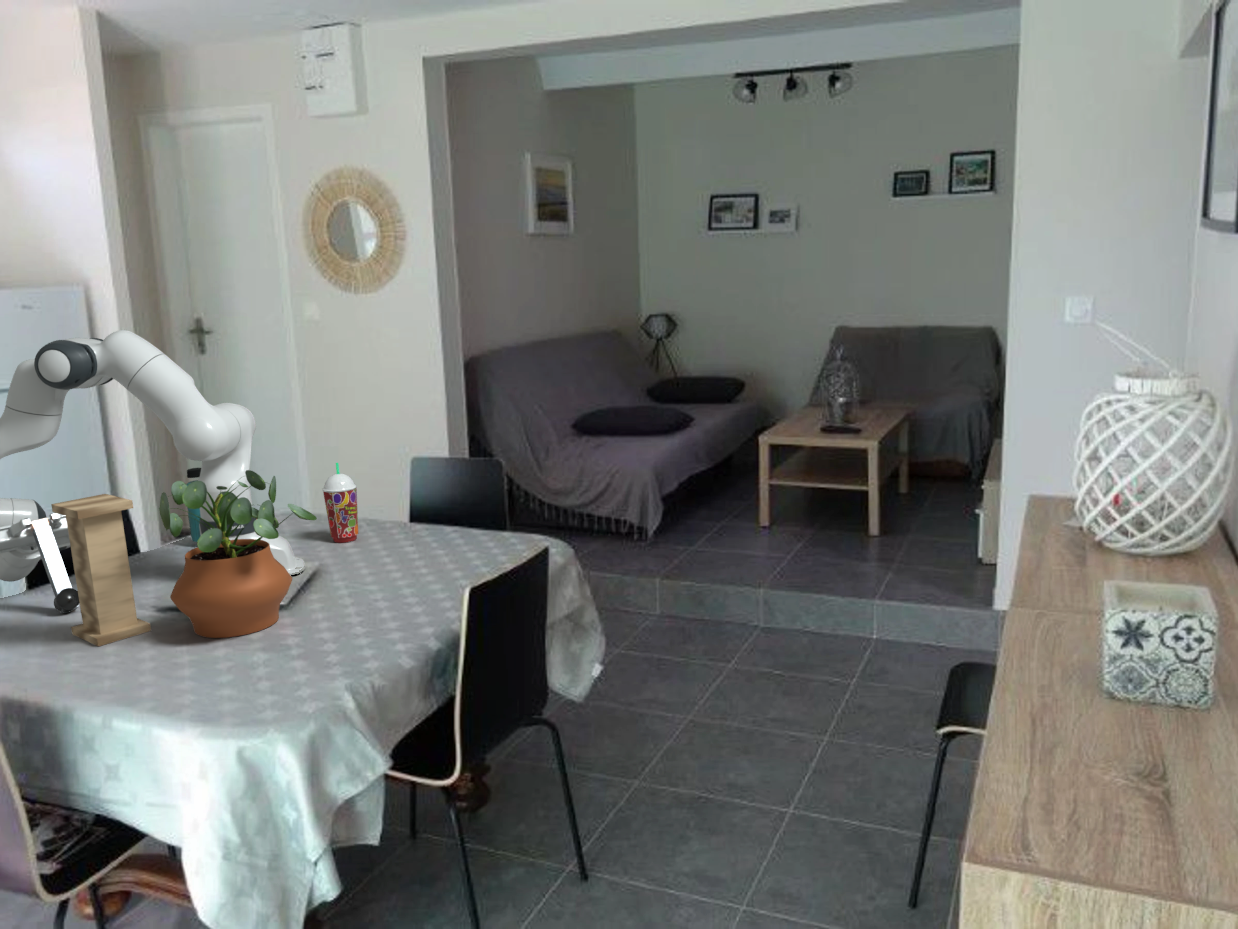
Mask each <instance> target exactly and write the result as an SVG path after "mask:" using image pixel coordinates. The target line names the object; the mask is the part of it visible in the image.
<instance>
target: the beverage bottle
mask: <svg viewBox="0 0 1238 929" xmlns="http://www.w3.org/2000/svg"><path fill="white" fill-rule="evenodd" d="M200 473H201V467H193V468H188V469H186V477H187V478H189V479H196V478H197V479H198V478H199V477H200ZM197 479H196V480H191V481H188V482H187V483H185V484H186V485H187V484H190V483H192V482H195V481H198V480H197ZM187 486H188V485H187ZM186 508H187V512H186V513H187V519H188V520H187V521H188V526H189V529H188V530H189V533H190V539H191V541H192V542H196V543H197V542H198V539H199V538H200V536H201V535H200V528H199V524H200V523H199V522H198V521H200V518H201V515H200V508H199V509H190V508H188V507H186ZM188 512H190V513H188ZM191 513H192V514H191ZM193 514H194V515H193ZM195 515H196V516H195ZM189 516H190V517H189ZM197 516H198V517H200V518H198V517H197ZM191 517H192V518H191ZM193 518H194V519H193ZM195 519H196V520H195ZM197 520H198V521H197Z"/></svg>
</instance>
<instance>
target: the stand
mask: <svg viewBox="0 0 1238 929" xmlns="http://www.w3.org/2000/svg"><path fill="white" fill-rule="evenodd" d="M131 509H134V504H133V500H132V499H128V498H124V497H120V496H116V495H112V494H107V493H102V494H96V495H91V496H86V497H81V498H76V499H70V500H65V501H61V502H56V503H51V510H52V511H51V512H52V513H58V514H59V515H65V516H66V521H67V527H68V533H69V540H70V550H71V552H70V553H71V557H72V563H73V564H72V565H73V570H74V571H73V572H74V576H75V582H76V590H77V591H78V596H79V607H80V614H81V621H82V623H80V624H77V625H74V626H70V629H71V634H72V635H73V636H76V637H78V638H79V639H81V640H83V641H86V642H87V643H89V644H92V645H94V646H96V647H98V648H99V647H101V646H105V645H108V644H111V643H115V642H118V641H122V640H124V639H128V638H129V639H130V638H132V637H135V636H138V635H143V634H145V633H149V632H152V626H151V623H150V622H148V621H146V620H143V619H140V618H138V616H137V615H138V614H137V610H136V602H135V601H136V600H135V597H134V588H133V582H132V575H131V568H130V563H129V562H130V561H129V556H128V555H129V554H128V549H127V548H128V547H127V541H126V534H125V529H124V528H125V527H124V521H123V515H122V511H126V510H131Z"/></svg>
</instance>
